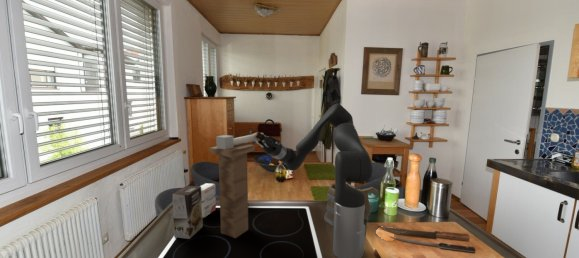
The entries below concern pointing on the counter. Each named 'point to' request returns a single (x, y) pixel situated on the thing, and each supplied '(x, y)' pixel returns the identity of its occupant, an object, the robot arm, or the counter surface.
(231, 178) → the stand
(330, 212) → the tankard
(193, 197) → the coffee box
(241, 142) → the hammer
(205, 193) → the ink box
